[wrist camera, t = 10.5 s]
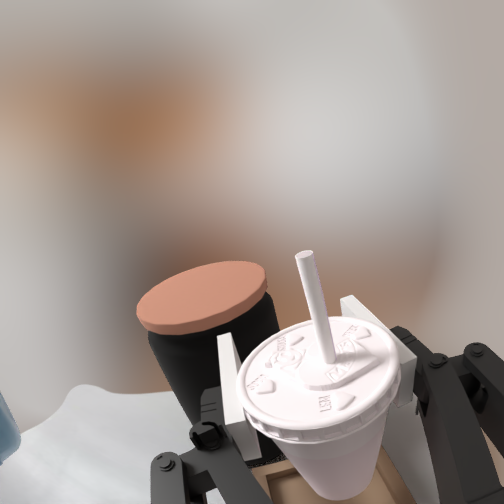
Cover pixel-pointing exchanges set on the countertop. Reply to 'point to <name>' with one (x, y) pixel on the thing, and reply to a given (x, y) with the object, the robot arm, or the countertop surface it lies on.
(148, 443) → the countertop surface
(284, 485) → the wooden tray
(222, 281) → the coffee jar
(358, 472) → the smoothie
